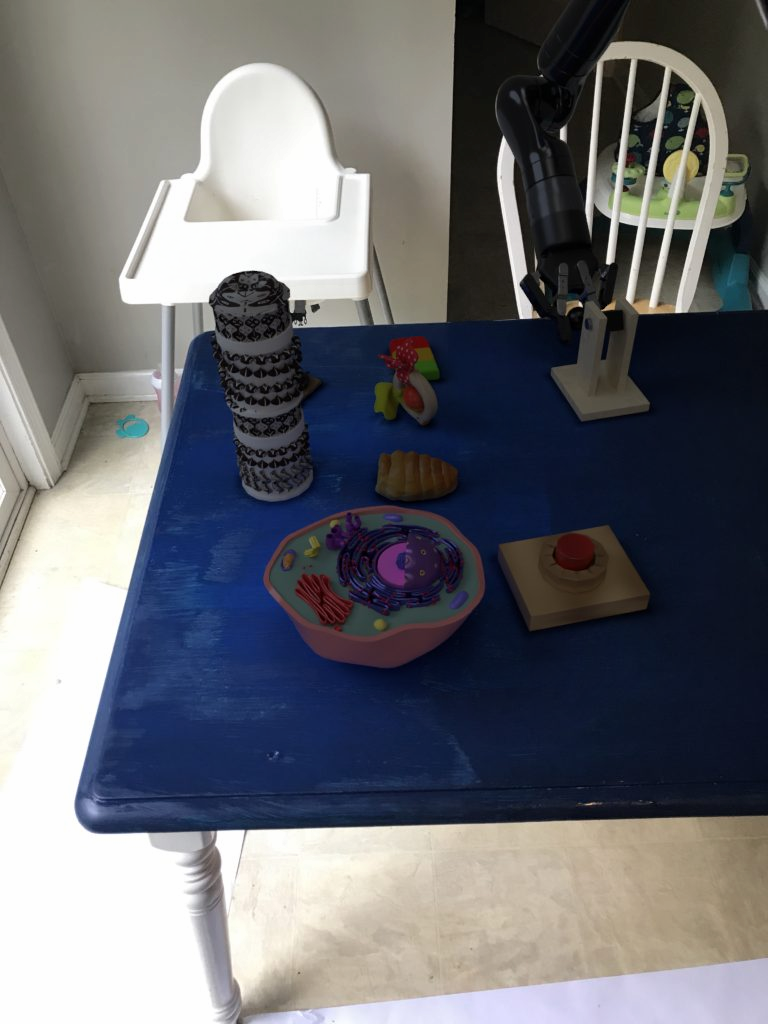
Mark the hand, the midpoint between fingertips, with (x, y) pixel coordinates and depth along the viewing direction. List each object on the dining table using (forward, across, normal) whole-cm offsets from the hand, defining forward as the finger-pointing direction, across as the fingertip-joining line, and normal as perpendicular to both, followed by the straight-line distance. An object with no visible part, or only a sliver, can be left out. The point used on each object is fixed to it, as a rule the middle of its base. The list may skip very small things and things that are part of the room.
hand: (582, 342), depth 111 cm
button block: (+30, -16, -23) cm, 41 cm away
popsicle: (0, -22, +5) cm, 23 cm away
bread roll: (-1, -41, +7) cm, 42 cm away
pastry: (+16, -28, -10) cm, 34 cm away
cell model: (+31, -36, -24) cm, 53 cm away
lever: (0, 0, -4) cm, 4 cm away
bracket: (+7, 0, -2) cm, 8 cm away
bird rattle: (+7, -25, -1) cm, 26 cm away
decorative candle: (+12, -43, -6) cm, 45 cm away
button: (+27, -16, -26) cm, 41 cm away
